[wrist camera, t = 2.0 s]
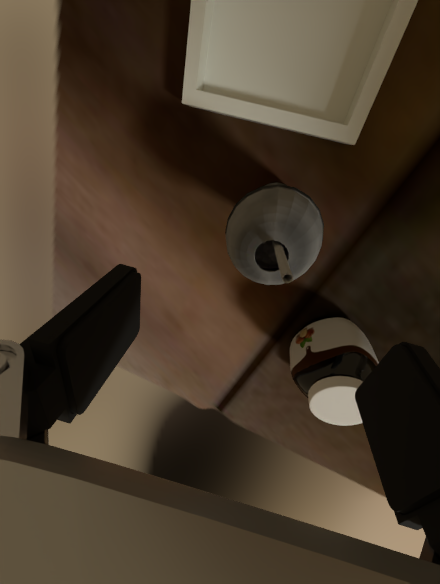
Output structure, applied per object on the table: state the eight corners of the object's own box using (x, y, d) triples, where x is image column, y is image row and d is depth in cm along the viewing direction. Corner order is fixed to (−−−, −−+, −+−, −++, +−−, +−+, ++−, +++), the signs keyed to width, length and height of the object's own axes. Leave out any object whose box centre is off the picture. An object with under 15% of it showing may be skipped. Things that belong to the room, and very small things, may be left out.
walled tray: (470, -149, 15) (508, -206, 13) (346, 144, 24) (354, 144, 22) (223, -190, 16) (214, -251, 14) (191, 106, 25) (181, 103, 22)
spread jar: (343, 301, 33) (370, 369, 23) (385, 353, 36) (425, 433, 26) (270, 339, 39) (268, 405, 29) (312, 381, 42) (322, 454, 32)
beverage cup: (230, 208, 29) (168, 297, 13) (272, 152, 26) (262, 175, 9) (275, 246, 31) (273, 371, 14) (322, 198, 27) (394, 292, 10)
